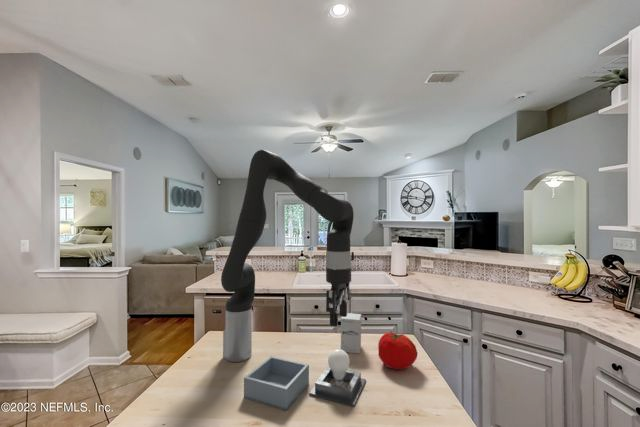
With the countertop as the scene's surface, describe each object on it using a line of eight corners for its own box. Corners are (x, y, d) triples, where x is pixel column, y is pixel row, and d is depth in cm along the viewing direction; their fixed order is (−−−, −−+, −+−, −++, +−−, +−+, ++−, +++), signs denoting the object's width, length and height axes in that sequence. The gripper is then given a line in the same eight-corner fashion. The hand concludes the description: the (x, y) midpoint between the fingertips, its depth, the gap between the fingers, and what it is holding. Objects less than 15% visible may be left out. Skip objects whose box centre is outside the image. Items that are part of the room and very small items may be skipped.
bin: (243, 397, 78) (243, 377, 78) (270, 373, 90) (270, 356, 91) (286, 410, 73) (286, 389, 73) (308, 382, 85) (308, 364, 85)
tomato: (370, 360, 99) (370, 330, 99) (398, 353, 104) (398, 325, 104) (394, 379, 87) (394, 345, 87) (425, 371, 92) (424, 338, 92)
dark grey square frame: (309, 395, 79) (309, 384, 79) (326, 372, 91) (326, 362, 91) (353, 407, 74) (353, 395, 74) (365, 381, 86) (365, 371, 86)
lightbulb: (348, 395, 79) (348, 356, 79) (326, 393, 80) (326, 354, 80) (350, 383, 85) (350, 346, 85) (329, 380, 86) (330, 344, 87)
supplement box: (340, 352, 105) (340, 318, 106) (342, 343, 112) (342, 312, 113) (360, 354, 104) (359, 319, 104) (361, 345, 111) (361, 313, 111)
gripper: (334, 262, 92) (335, 312, 91) (317, 268, 79) (317, 327, 78) (357, 263, 89) (357, 315, 88) (343, 270, 76) (343, 331, 75)
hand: (338, 320), depth 83 cm, fingers open, 8 cm apart
